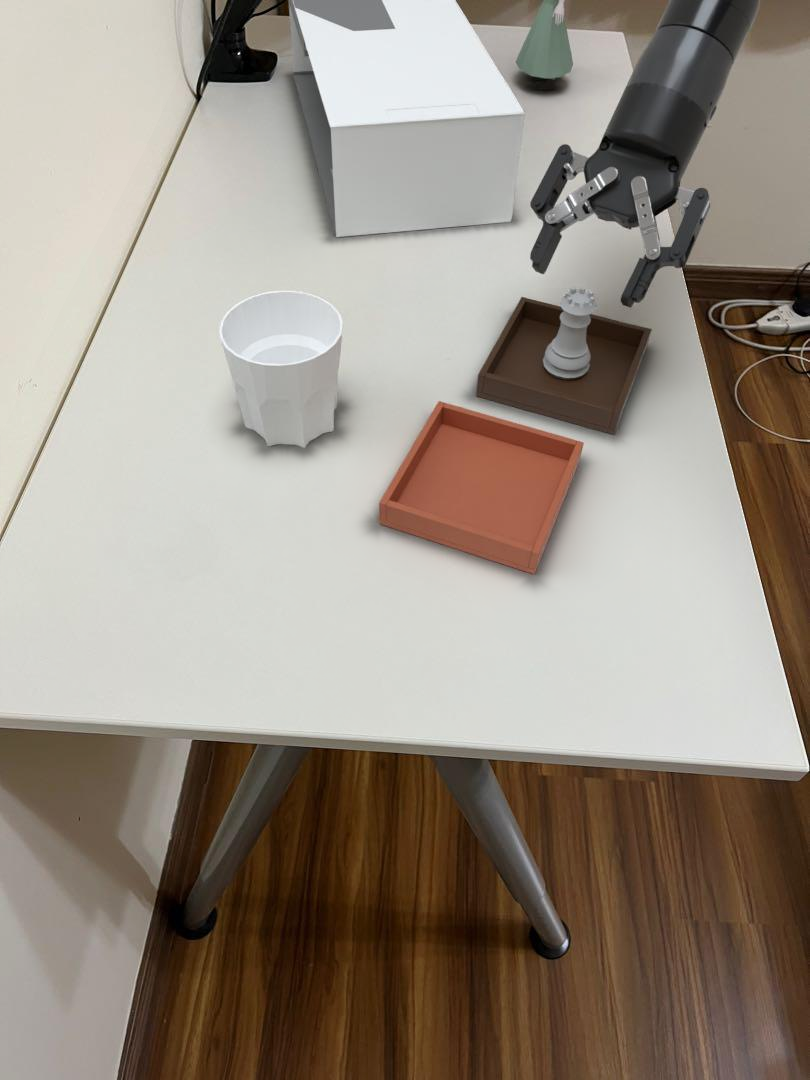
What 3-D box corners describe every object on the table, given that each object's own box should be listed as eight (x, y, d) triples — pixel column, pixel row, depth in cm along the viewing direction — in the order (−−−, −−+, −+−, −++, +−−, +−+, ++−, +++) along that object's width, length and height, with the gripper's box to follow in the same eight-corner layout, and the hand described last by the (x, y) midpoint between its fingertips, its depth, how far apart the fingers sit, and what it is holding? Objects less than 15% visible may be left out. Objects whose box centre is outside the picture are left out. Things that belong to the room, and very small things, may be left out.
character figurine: (510, 57, 129) (525, -85, 115) (565, 59, 129) (586, -84, 115) (515, 103, 119) (532, -47, 105) (574, 105, 119) (598, -45, 105)
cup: (301, 367, 81) (292, 276, 74) (369, 420, 77) (367, 329, 69) (214, 413, 77) (195, 322, 69) (281, 472, 72) (268, 382, 65)
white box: (292, 72, 124) (284, -26, 114) (431, 64, 127) (435, -33, 117) (334, 238, 96) (329, 126, 86) (512, 222, 99) (526, 112, 89)
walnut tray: (645, 350, 84) (651, 328, 82) (614, 435, 76) (620, 413, 74) (518, 318, 87) (521, 296, 85) (475, 396, 79) (478, 374, 77)
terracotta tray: (578, 463, 74) (584, 442, 72) (534, 574, 66) (539, 554, 64) (437, 422, 77) (438, 400, 75) (379, 524, 69) (378, 502, 67)
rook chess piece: (553, 346, 83) (567, 275, 77) (596, 362, 82) (613, 290, 75) (534, 371, 81) (546, 299, 74) (577, 388, 79) (593, 316, 73)
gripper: (582, 59, 70) (497, 247, 73) (748, 105, 65) (651, 304, 68) (598, 103, 77) (520, 272, 79) (750, 147, 72) (661, 327, 74)
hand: (580, 287), depth 74 cm, fingers open, 8 cm apart
